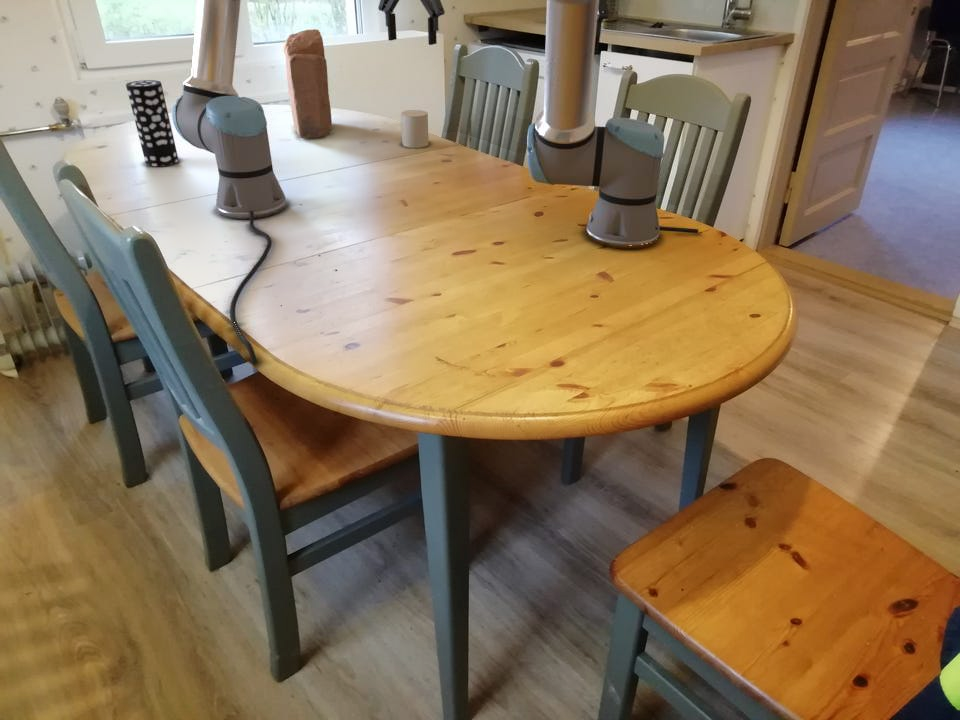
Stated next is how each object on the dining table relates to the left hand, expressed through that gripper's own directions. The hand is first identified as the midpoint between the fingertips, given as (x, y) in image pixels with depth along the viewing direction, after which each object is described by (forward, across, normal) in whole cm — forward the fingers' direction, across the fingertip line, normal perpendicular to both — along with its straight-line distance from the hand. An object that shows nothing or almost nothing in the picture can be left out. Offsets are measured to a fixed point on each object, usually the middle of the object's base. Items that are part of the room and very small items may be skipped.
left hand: (412, 42), depth 189 cm
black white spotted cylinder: (+17, +46, +53) cm, 72 cm away
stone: (+28, +36, +6) cm, 46 cm away
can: (+28, 0, 0) cm, 28 cm away
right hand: (-4, -53, +9) cm, 54 cm away
